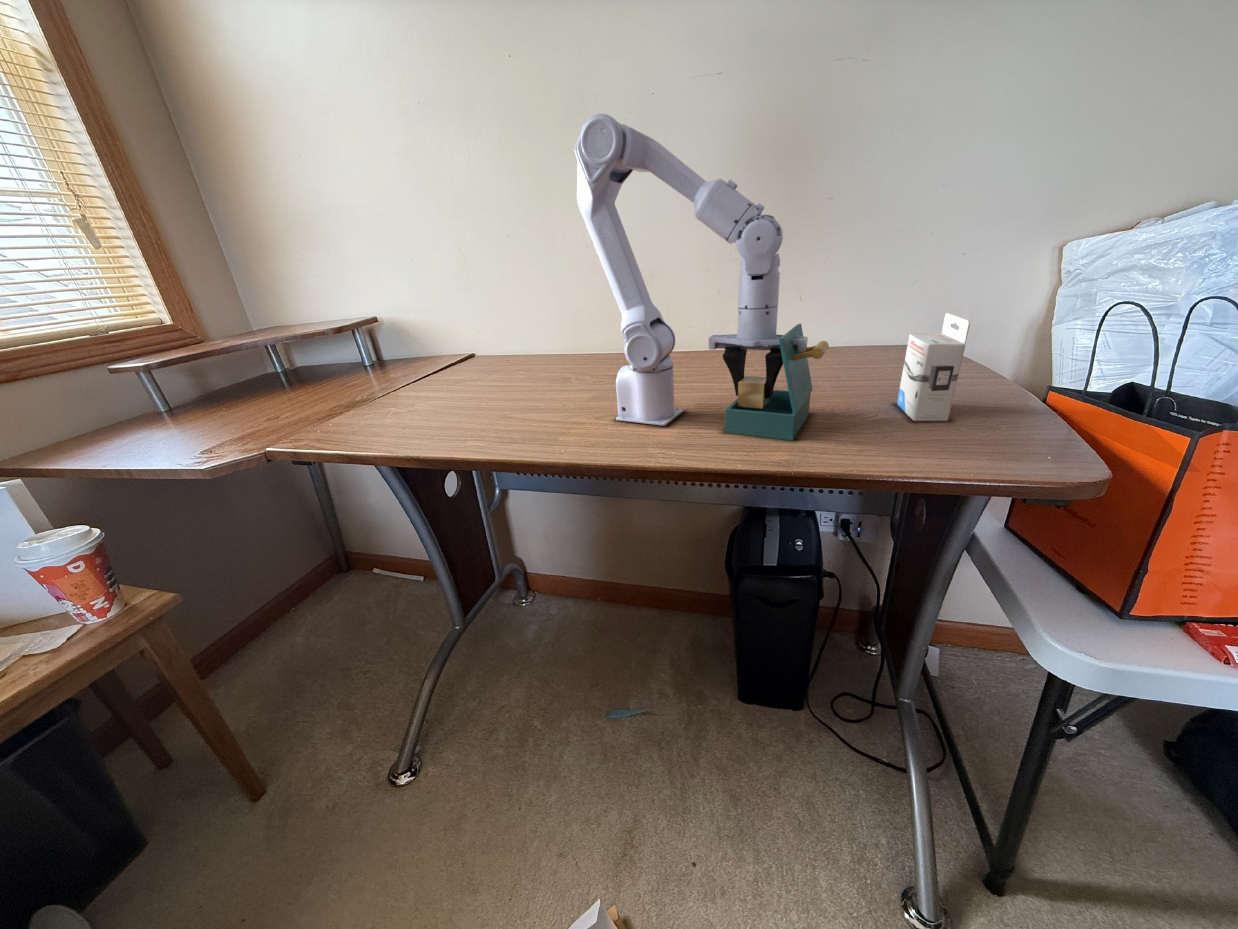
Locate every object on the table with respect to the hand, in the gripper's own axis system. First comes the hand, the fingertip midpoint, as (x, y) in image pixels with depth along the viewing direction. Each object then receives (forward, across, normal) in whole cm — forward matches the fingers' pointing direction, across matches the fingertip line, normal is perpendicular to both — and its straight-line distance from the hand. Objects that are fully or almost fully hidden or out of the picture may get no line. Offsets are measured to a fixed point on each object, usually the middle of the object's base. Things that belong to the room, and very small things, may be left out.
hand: (753, 395), depth 76 cm
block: (+1, 0, 0) cm, 1 cm away
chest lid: (-5, +6, 0) cm, 8 cm away
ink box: (+5, +24, +12) cm, 27 cm away
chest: (+4, +2, 0) cm, 5 cm away
